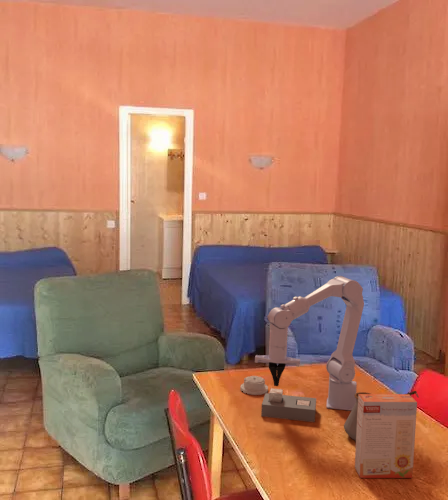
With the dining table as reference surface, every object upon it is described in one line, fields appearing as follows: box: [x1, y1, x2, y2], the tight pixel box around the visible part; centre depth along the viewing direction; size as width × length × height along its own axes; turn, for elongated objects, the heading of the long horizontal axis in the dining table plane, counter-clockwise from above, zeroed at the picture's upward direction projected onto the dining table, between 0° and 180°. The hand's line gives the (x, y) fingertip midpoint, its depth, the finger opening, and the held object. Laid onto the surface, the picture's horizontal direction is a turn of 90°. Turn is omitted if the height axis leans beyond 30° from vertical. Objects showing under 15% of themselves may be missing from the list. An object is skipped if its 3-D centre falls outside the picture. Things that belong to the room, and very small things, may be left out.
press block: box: [260, 392, 317, 423], centre depth 186 cm, size 17×10×4 cm, turn 79°
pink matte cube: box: [297, 400, 310, 406], centre depth 185 cm, size 4×4×4 cm
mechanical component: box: [239, 375, 269, 396], centre depth 206 cm, size 10×4×10 cm
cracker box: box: [354, 393, 418, 479], centre depth 149 cm, size 14×6×21 cm, turn 92°
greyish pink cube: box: [268, 388, 284, 403], centre depth 187 cm, size 4×4×4 cm
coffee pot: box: [343, 390, 419, 442], centre depth 170 cm, size 21×12×15 cm, turn 89°
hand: (276, 385), depth 186 cm, fingers closed
